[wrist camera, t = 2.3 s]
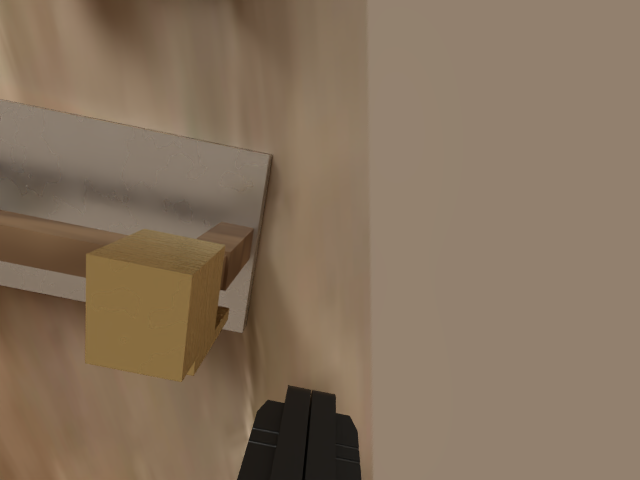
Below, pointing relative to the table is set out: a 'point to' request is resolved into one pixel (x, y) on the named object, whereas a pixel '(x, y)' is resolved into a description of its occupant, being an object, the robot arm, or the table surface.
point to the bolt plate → (125, 189)
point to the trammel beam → (97, 244)
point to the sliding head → (153, 304)
